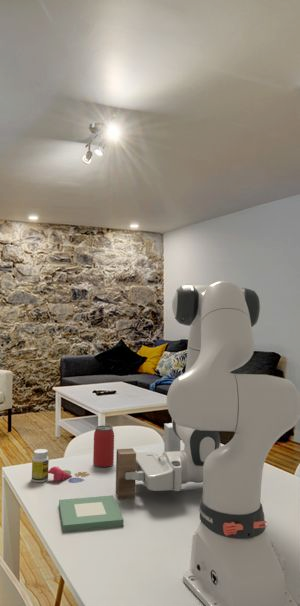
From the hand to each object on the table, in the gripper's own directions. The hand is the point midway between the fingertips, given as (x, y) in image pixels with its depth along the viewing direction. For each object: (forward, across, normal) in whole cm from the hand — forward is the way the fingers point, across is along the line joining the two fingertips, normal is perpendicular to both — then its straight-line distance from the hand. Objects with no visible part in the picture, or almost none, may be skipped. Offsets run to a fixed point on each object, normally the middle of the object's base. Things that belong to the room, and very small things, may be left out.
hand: (122, 471), depth 125 cm
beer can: (+1, -25, +7) cm, 26 cm away
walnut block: (-1, 0, +6) cm, 7 cm away
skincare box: (-22, -24, +7) cm, 33 cm away
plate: (+10, +10, +6) cm, 16 cm away
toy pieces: (+13, -16, +7) cm, 22 cm away
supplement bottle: (+21, -16, +7) cm, 28 cm away
